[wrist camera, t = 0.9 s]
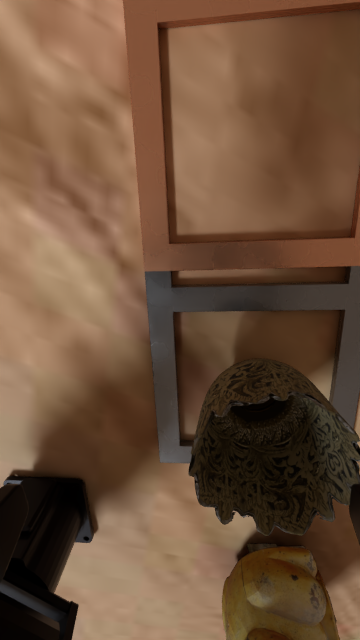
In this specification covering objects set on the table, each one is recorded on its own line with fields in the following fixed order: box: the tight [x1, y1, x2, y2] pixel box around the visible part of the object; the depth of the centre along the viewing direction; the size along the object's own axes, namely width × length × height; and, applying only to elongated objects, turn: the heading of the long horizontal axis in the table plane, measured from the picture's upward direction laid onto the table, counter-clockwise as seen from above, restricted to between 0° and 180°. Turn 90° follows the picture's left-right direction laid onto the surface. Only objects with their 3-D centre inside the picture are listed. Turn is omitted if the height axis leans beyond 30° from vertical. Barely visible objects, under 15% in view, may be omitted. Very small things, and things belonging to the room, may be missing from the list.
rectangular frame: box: [123, 0, 360, 463], centre depth 19 cm, size 27×13×1 cm, turn 2°
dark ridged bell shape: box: [189, 359, 360, 536], centre depth 17 cm, size 8×7×8 cm
